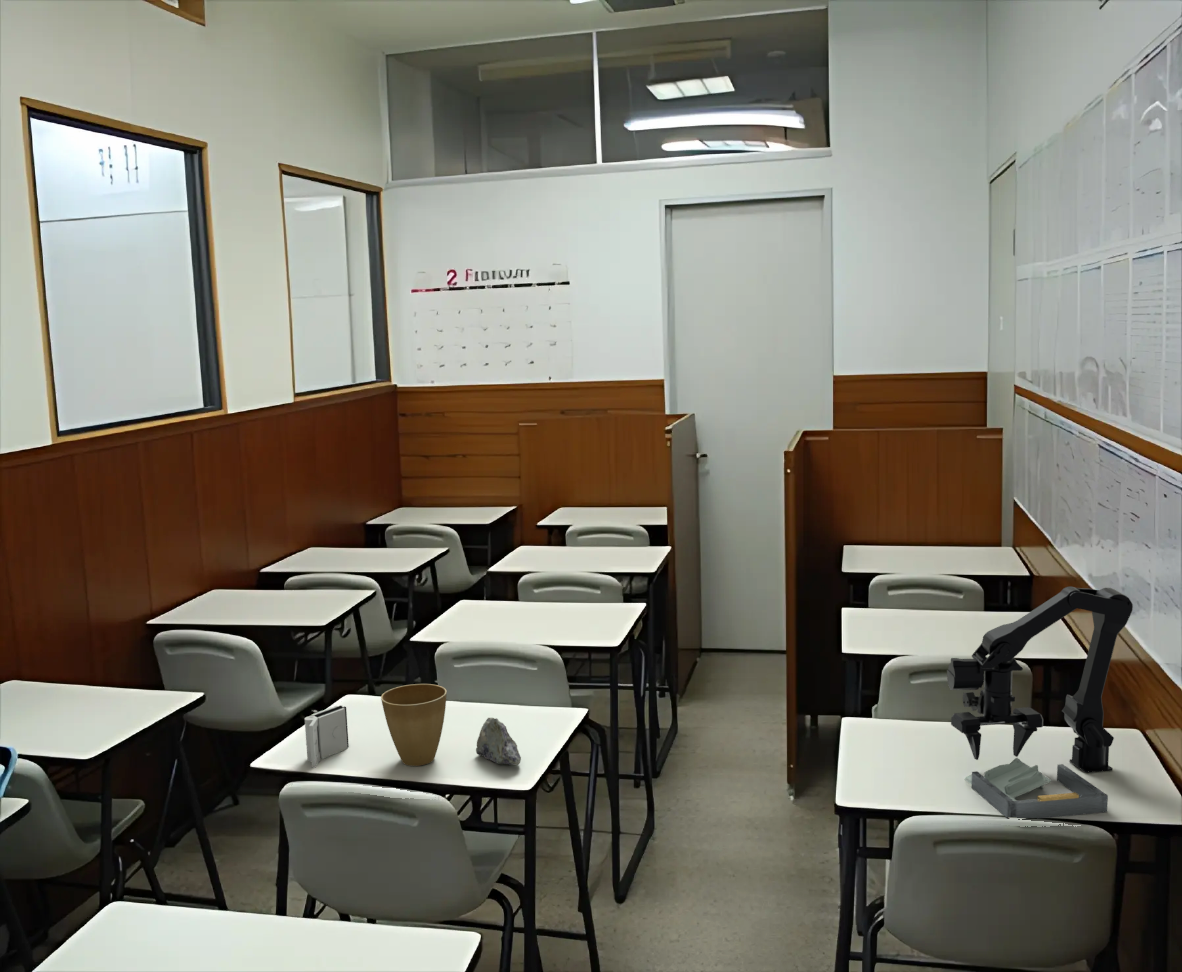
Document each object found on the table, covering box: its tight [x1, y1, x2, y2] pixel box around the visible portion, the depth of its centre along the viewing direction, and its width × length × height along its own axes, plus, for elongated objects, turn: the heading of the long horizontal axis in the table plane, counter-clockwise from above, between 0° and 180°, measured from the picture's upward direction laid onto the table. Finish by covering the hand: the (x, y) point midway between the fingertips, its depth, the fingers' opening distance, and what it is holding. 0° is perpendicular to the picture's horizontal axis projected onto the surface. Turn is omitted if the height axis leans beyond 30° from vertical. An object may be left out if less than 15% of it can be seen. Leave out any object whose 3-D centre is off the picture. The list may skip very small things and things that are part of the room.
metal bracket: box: [964, 757, 1052, 801], centre depth 230 cm, size 14×6×15 cm
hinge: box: [304, 705, 350, 769], centre depth 258 cm, size 13×8×10 cm, turn 0°
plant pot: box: [380, 683, 448, 767], centre depth 253 cm, size 15×15×16 cm
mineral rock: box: [475, 717, 522, 766], centre depth 251 cm, size 13×11×10 cm
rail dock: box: [971, 763, 1109, 819], centre depth 224 cm, size 20×16×4 cm
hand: (995, 757), depth 241 cm, fingers open, 9 cm apart
